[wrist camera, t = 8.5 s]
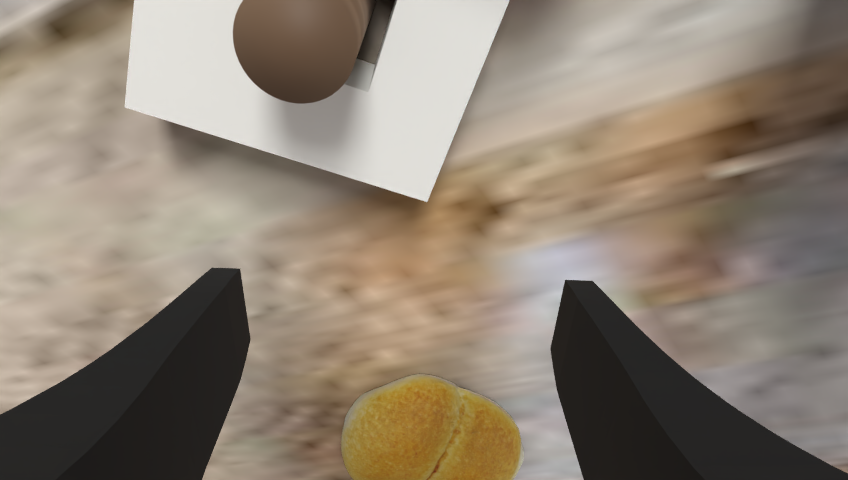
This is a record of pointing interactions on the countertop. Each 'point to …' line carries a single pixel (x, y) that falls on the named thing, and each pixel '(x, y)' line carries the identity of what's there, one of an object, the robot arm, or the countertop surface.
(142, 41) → the socket block
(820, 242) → the countertop surface
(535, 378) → the countertop surface
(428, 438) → the bread roll
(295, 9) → the peg
